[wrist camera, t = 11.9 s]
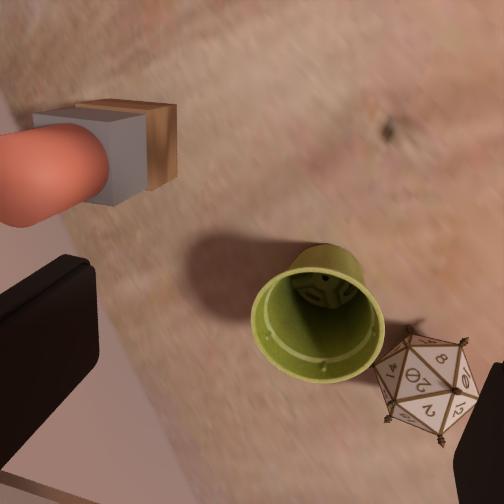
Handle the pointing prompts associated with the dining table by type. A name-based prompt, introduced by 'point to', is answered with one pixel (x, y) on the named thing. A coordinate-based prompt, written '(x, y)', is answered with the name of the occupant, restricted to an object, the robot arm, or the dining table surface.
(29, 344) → the robot arm
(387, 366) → the game die
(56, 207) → the cylinder
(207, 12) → the dining table surface
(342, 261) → the plant pot
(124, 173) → the tower top
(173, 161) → the tower base
